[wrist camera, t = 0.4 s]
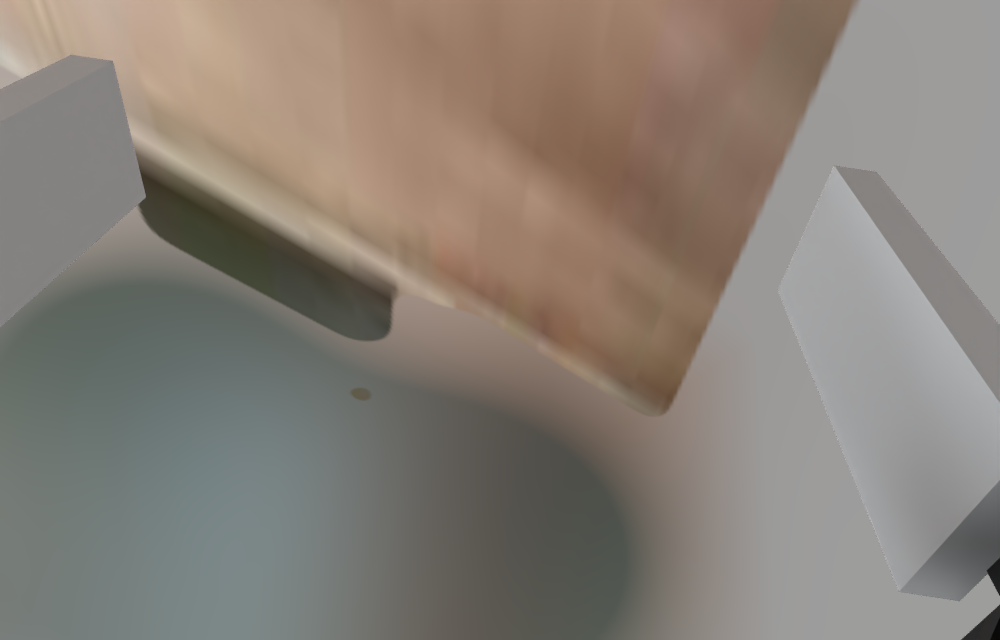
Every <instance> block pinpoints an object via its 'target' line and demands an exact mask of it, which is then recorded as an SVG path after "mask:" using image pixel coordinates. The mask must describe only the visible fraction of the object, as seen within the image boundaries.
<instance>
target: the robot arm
mask: <svg viewBox="0 0 1000 640" xmlns="http://www.w3.org/2000/svg"><path fill="white" fill-rule="evenodd" d="M144 198H146V195H145V191H144V187H143V183H142V179H141V175H140V170H139V166H138V162H137V158H136V154H135V150H134V146H133V142H132V138H131V133H130V129H129V125H128V121H127V117H126V113H125V109H124V105H123V100H122V96H121V92H120V88H119V84H118V80H117V76H116V72H115V68H114V63H113V61H110V60H103V59H96V58H89V57H82V56H76V55H70V56H68V57H66V58H64V59H62V60H60V61H58V62H56V63H54V64H51V65H49V66H47V67H45V68H43V69H41V70H39V71H37V72H35V73H33V74H31V75H29V76H27V77H25V78H23V79H21V80H19V81H16V82H14V83H12V84H10V85H8V86H6V87H4V88H2V89H0V327H1V326H2V325H3V324H4V323H6V322H7V321H8V320H9V319H10V318H11V317H12V316H13V315H14V314H16V313H17V312H18V311H19V310H20V309H21V308H22V307H23V306H24V305H26V304H27V303H28V302H29V301H30V300H31V299H32V298H34V297H35V296H36V295H37V294H38V293H39V292H40V291H41V290H42V289H44V288H45V287H46V286H47V285H48V284H49V283H50V282H51V281H52V280H54V279H55V278H56V277H57V276H58V275H59V274H60V273H62V271H64V270H65V269H66V268H67V267H68V266H69V265H71V263H73V262H74V261H75V260H76V259H77V258H78V257H79V256H81V255H82V254H83V253H84V252H85V251H86V250H87V249H88V248H89V247H91V246H92V245H93V244H94V243H95V242H96V241H97V240H99V239H100V238H101V237H102V236H103V235H104V234H105V233H106V232H107V231H109V230H110V229H111V228H112V227H113V226H114V225H115V224H116V223H118V222H119V221H120V220H121V219H122V218H123V217H124V216H125V215H127V214H128V213H129V212H130V211H131V210H132V209H133V208H134V207H136V206H137V205H138V204H139V203H140V202H141V201H142V200H143V199H144ZM778 292H779V295H780V297H781V300H782V302H783V304H784V307H785V310H786V312H787V314H788V317H789V319H790V322H791V324H792V327H793V329H794V332H795V335H796V337H797V340H798V342H799V344H800V347H801V349H802V352H803V354H804V357H805V359H806V362H807V364H808V367H809V369H810V371H811V374H812V377H813V379H814V382H815V384H816V387H817V389H818V392H819V394H820V397H821V399H822V402H823V404H824V407H825V409H826V412H827V414H828V417H829V419H830V422H831V424H832V427H833V429H834V432H835V434H836V437H837V439H838V442H839V444H840V446H841V449H842V451H843V454H844V456H845V459H846V461H847V464H848V466H849V469H850V471H851V474H852V476H853V479H854V481H855V484H856V486H857V489H858V491H859V494H860V496H861V498H862V501H863V504H864V506H865V509H866V511H867V513H868V516H869V518H870V521H871V524H872V526H873V529H874V531H875V534H876V536H877V539H878V541H879V544H880V546H881V549H882V551H883V553H884V556H885V558H886V561H887V563H888V565H889V568H890V571H891V573H892V576H893V578H894V580H895V583H896V586H897V588H898V591H899V592H903V593H909V594H916V595H923V596H929V597H936V598H943V599H950V600H956V601H960V600H961V599H962V598H963V597H964V596H965V595H966V594H967V593H968V592H969V591H970V590H971V589H972V588H973V587H974V586H975V585H976V584H978V583H979V582H980V581H981V580H982V579H983V578H984V576H986V575H987V574H988V575H989V576H990V578H991V580H992V582H993V584H994V586H995V588H996V590H997V592H998V593H999V595H1000V325H999V324H998V322H997V321H996V320H995V319H994V317H993V316H992V315H991V314H990V312H989V311H988V310H987V309H986V307H985V306H984V305H983V304H982V302H981V301H980V300H979V299H978V297H977V296H976V295H975V294H974V292H973V291H972V290H971V289H970V288H969V286H968V285H967V284H966V283H965V281H964V280H963V279H962V277H961V276H960V275H959V274H958V272H957V271H956V270H955V269H954V268H953V266H952V265H951V264H950V263H949V261H948V260H947V259H946V258H945V256H944V255H943V254H942V253H941V251H940V250H939V249H938V248H937V246H936V245H935V244H934V243H933V241H932V240H931V239H930V238H929V236H928V235H927V234H926V233H925V231H924V230H923V229H922V228H921V226H920V225H919V224H918V223H917V221H916V220H915V219H914V218H913V217H912V215H911V214H910V213H909V212H908V210H907V209H906V208H905V207H904V205H903V204H902V203H901V202H900V200H899V199H898V198H897V197H896V195H895V194H894V193H893V192H892V190H891V189H890V188H889V187H888V185H887V184H886V183H885V182H884V180H883V179H882V178H881V177H880V175H879V174H878V173H877V172H874V171H867V170H861V169H854V168H846V167H840V166H834V167H833V169H832V171H831V173H830V176H829V178H828V180H827V182H826V185H825V187H824V189H823V191H822V193H821V196H820V198H819V200H818V202H817V204H816V207H815V209H814V211H813V213H812V216H811V218H810V220H809V222H808V224H807V227H806V229H805V231H804V233H803V235H802V238H801V240H800V242H799V244H798V247H797V249H796V251H795V253H794V255H793V258H792V260H791V262H790V264H789V266H788V269H787V271H786V273H785V275H784V277H783V280H782V282H781V284H780V286H779V288H778ZM962 640H1000V605H999V606H998V607H997V608H996V609H995V610H993V612H991V613H990V614H989V615H988V616H987V617H986V618H985V619H984V620H982V621H981V622H980V623H979V624H978V625H977V626H976V627H975V628H974V629H973V630H971V631H970V633H968V634H967V635H966V636H965V637H964V638H963V639H962Z"/></svg>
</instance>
